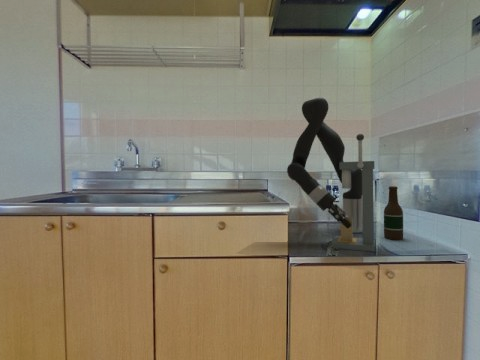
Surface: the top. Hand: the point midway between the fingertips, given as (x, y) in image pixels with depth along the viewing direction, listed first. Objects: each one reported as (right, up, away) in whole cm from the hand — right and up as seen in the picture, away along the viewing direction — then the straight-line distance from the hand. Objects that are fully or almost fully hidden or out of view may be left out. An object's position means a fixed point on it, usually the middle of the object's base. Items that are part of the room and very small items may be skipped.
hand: (350, 225), depth 112 cm
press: (+1, -8, 0) cm, 9 cm away
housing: (-1, -6, +1) cm, 6 cm away
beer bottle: (+25, -8, +12) cm, 28 cm away
